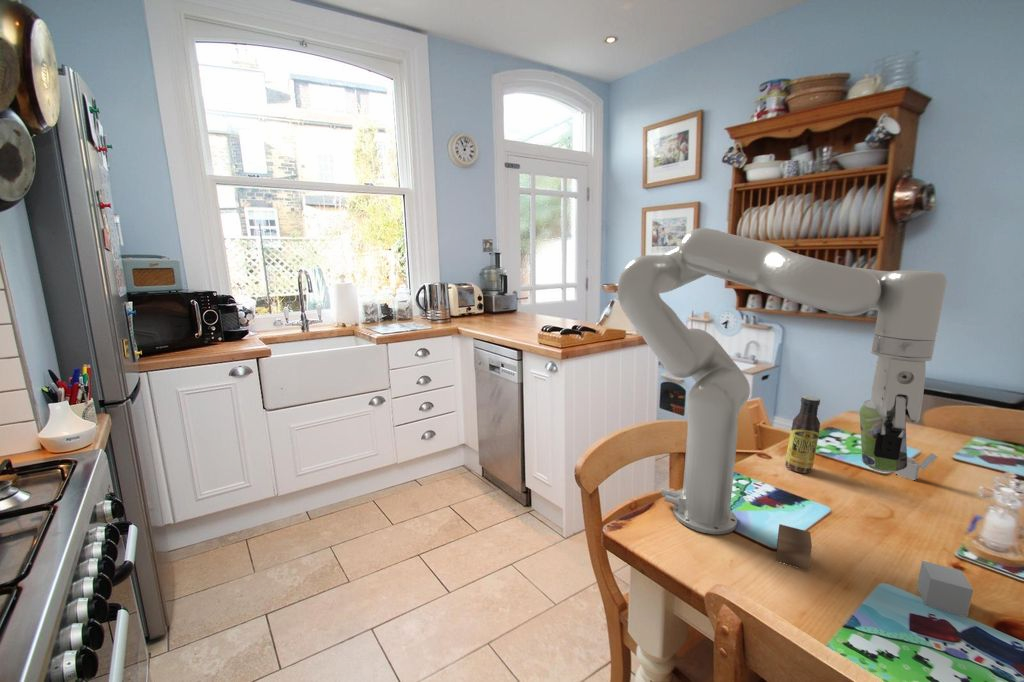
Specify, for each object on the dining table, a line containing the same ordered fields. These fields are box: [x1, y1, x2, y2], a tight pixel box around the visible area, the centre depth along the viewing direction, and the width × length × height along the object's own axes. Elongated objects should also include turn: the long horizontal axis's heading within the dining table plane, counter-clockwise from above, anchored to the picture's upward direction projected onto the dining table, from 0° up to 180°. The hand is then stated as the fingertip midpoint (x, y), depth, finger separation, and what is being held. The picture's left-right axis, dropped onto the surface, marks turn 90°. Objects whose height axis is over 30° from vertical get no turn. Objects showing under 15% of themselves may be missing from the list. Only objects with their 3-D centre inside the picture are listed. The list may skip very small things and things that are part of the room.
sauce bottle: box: [785, 395, 821, 474], centre depth 118 cm, size 6×6×20 cm
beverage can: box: [859, 399, 908, 473], centre depth 77 cm, size 6×7×12 cm
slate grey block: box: [916, 560, 974, 618], centre depth 74 cm, size 5×5×5 cm
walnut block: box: [775, 523, 813, 572], centre depth 84 cm, size 5×5×5 cm
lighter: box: [894, 452, 939, 481], centre depth 114 cm, size 7×2×8 cm, turn 33°
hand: (883, 452), depth 76 cm, fingers closed on beverage can, 3 cm apart
